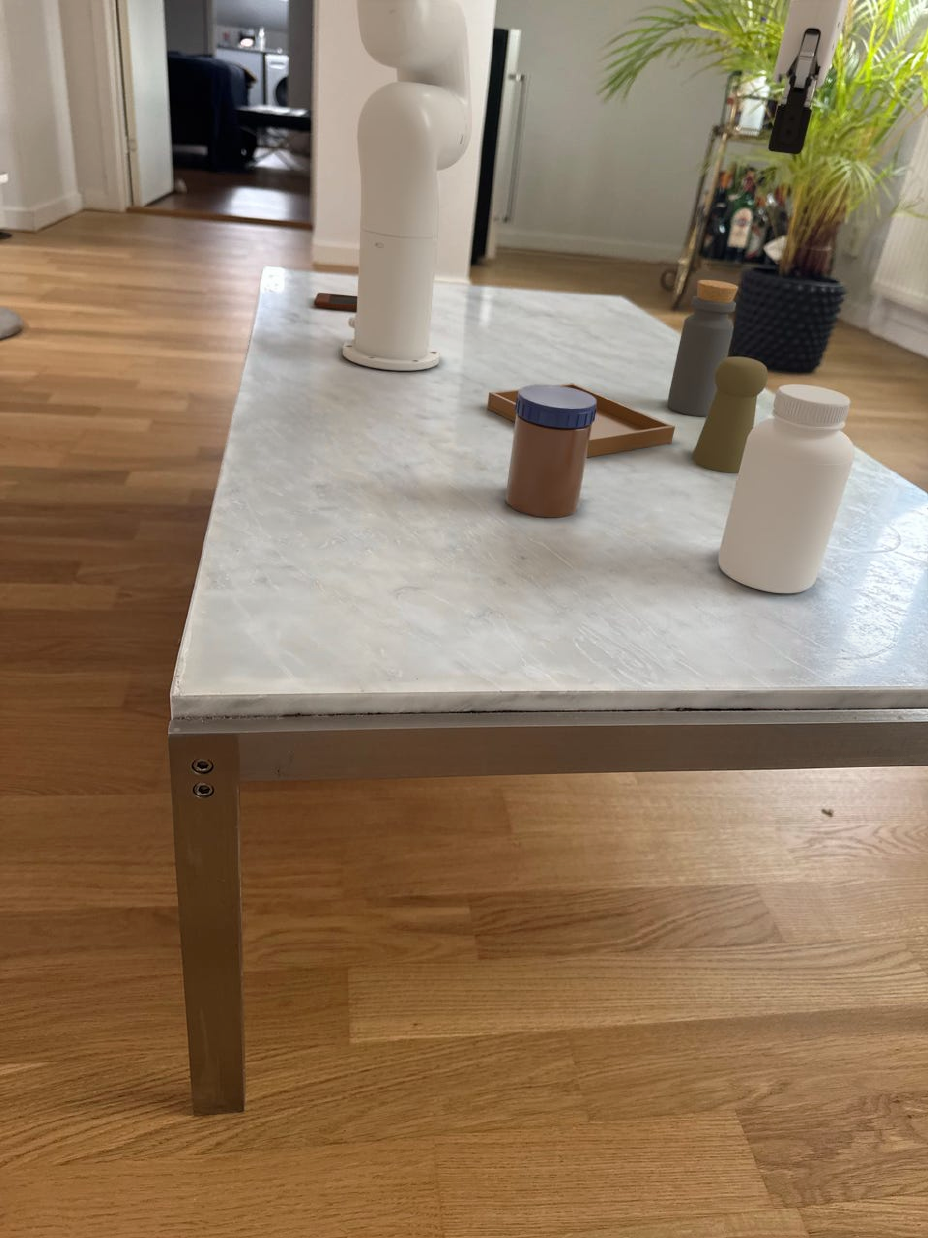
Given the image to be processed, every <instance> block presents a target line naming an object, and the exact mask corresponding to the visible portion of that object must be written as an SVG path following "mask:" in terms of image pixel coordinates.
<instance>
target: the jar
mask: <svg viewBox="0 0 928 1238" xmlns="http://www.w3.org/2000/svg"><path fill="white" fill-rule="evenodd" d="M591 428H592V424H590V425H588V426H585V427H580V428H557V427H550V426H544V425H540V424H536V423H533V422H530V421H528V420H526V419H524V418H522V417H520V416H519V415H518V414H516V422H514V430H513V437H512V445H511V452H510V458H509V459H510V461H509V466H508V476H507V482H506V490H505V497H504V499H505V502H506V503H507V505H508V506H509V507H511V508H512V509H514V510H516V511H518V512H520V513H522V514H525V515H529V516H533V517H538V518H539V517H540V518H548V519H549V518H551V519H552V518H554V519H555V518H564V517H568V516H571V515H573V514H575V513H576V512H577V510H578V507H579V503H580V498H581V497H580V496H581V490H582V484H583V479H584V474H585V467H586V462H587V458H586V456H587V451H588V445H589V439H590V433H591Z"/></svg>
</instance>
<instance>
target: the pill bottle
mask: <svg viewBox="0 0 928 1238" xmlns="http://www.w3.org/2000/svg"><path fill="white" fill-rule="evenodd" d="M772 407H773V408H772V411H771V415H772V417H771V418H767V419H764V420H762V421H760V422H758V423H757V424H755V426H753V429H752V430H751V432H750V434H749V435H748V438H747V442H746V445H745V449H744V454H743V458H742V462H741V466H740V470H739V473H738V474H737V478H736V482H735V486H734V490H733V493H732V494H733V495H732V498H731V503H730V507H729V510H728V514H727V518H726V521H725V525H724V526H725V527H724V531H723V534H722V537H721V538H722V539H721V542H720V547H719V550H718V559H717V560H718V561H717V562H718V566H719V568H720V570H721V571H722V572H723V573H724V574H725V575H726V576H727V577H729V578H730V579H732V580H734V581H735V582H738V583H739V584H742V585H744V586H747V587H750V588H752V589H755V590H759V591H762V592H763V591H764V592H768V593H776V594H796V593H801V592H804V591H806V590H809V589H810V588H811V587H812V586H813V585H814V584H815V582H816V580H817V578H818V575H819V573H820V570H821V566H822V564H823V560H824V557H825V553H826V551H827V548H828V544H829V540H830V537H831V534H832V531H833V527H834V524H835V521H836V517H837V514H838V511H839V508H840V505H841V502H842V498H843V495H844V492H845V489H846V486H847V483H848V479H849V476H850V472H851V469H852V466H853V464H854V459H855V448H854V444H853V442H852V440H851V439H850V438H849V437H848V435H846V434H845V432H843V431H842V430H843V429H844V428H845V426H846V420H847V418H848V414H849V410H850V407H851V400H850V397H848V396H847V395H845V394H844V393H841V392H839V391H836V390H833V389H830V388H826V387H822V386H817V385H812V384H811V385H810V384H799V383H793V384H791V383H790V384H784V385H781V386H779V387H778V388H777V390H776V392H775V396H774V401H773V404H772Z"/></svg>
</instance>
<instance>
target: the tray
mask: <svg viewBox="0 0 928 1238" xmlns="http://www.w3.org/2000/svg"><path fill="white" fill-rule="evenodd" d="M556 385H557V386H564V387H569V388H573V389H577V390H580V391H583V392H586V393H588V394H590V395H592V396H593V397H594V398H595V399H596V400H597V405H596V406H597V408H596V415H595V421H594V422H593V423H592V428H591V433H590V439H589V445H588V451H587V456H586V459H588V458H591V457H598V456H605V455H609V454H616V453H621V452H628V451H632V450H638V449H644V448H650V447H655V446H662V445H668V444H672V443H673V439H674V435H675V434H674V433H675V429H676V426H675V425H673V424H670V423H667V422H665V421H663V420H661V419H658V418H656V417H654V416H651V415H649V414H646V413H644V412H642V411H640V410H637V409H635V408H633V407H630V406H628V405H626V404H623V403H621V402H618V401H616V400H614V399H611V398H609V397H606V396H605V395H602V394H600V393H597V392H595V391H592V390H591V389H587V388H585V387H583V386H580V385H578V384H576V383H574V382H571V383H562V384H561V383H560V384H556ZM520 389H521V388H515V389H506V390H498V391H490V392H489V391H488V398H487V399H488V400H487V406H486V407H487V408H486V409H487V410H490V411H491V412H494V413H496V414H497V415H499V416H502V417H504V418H506V419H508V420H510V421H512V422H513V423H515V422H516V414H517V412H516V410H515V407H516V399H517V396H518V391H519V390H520Z"/></svg>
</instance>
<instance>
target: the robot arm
mask: <svg viewBox="0 0 928 1238" xmlns="http://www.w3.org/2000/svg"><path fill="white" fill-rule="evenodd" d="M850 1H851V0H790V3H789V7H788V11H787V15H786V20H785V24H784V28H783V33H782V37H781V40H780V44H779V45H780V46H779V50H778V54H777V57H776V61H775V67H774V70H773V74H772V80H773V82H774V83H775V84H776V85H777V86H781V85H782V83H783V82H782V81H783V79H786V81H785V85H784V89H783V92H782V96H781V100H780V105H779V104H778V105H777V107H776V112H775V117H774V121H773V125H772V129H771V134H770V138H769V142H768V147H767V149H768V150H769V151H770V152H774V153H782V154H790V155H800V154H801V152H802V151H803V149H804V146H805V141H806V137H807V133H808V130H809V129H808V128H809V125H810V121H811V117H812V114H813V108H812V104H813V100H814V94H815V92H816V90H817V89H820V88H821V87H822V86H823V85H824V83H825V80H826V78H827V76H828V73H829V71H830V67H831V65H832V62H833V60H834V56H835V53H836V50H837V47H838V44H839V41H840V36H841V33H842V30H843V26H844V22H845V19H846V15H847V12H848V7H849V4H850ZM356 7H357V20H358V30H359V35H360V40H361V43H362V45H363V48H364V50H365V51H366V52H367V55H368V56H369V57H370V58H372V59H373V60H374V61H375V62H377V63H378V64H380V65H382V66H385V67H388V68H391V69H396V70H395V71H396V80H397V81H394V82H390V83H387V84H384V85H382V86H380V87H379V88H378V89H376V90H374V92H373V93H371V94H370V95H369V97H368V98H367V100H366V101H365V102H364V104H363V106H362V109H361V110H360V113H359V117H358V121H357V122H358V123H357V133H356V139H357V140H356V141H357V151H358V163H359V173H360V217H359V218H360V219H359V220H360V221H359V228H360V231H359V233H360V234H359V249H358V250H359V251H358V252H359V255H358V273H357V275H358V277H357V295H356V296H357V311H356V314H355V315H354V316H351V317H350V318H349V319H348V321H347V322H348V326H349V327H350V328H352V329H354V333H353V335H354V337H353V339H351V340H348V341H346V342H345V343H344V344H343V345H342V354H343V357H344V358H346V359H347V360H349V361H351V362H352V363H355V364H358V365H361V366H364V367H367V368H373V369H380V370H385V371H386V370H387V371H401V372H402V371H404V372H405V371H411V372H412V371H421V370H422V371H423V370H428V369H432V368H433V367H435V366H437V365H438V364H439V363H440V357H441V355H440V352H439V351H438V350H437V349H436V348H435V347H432V346H431V345H429V344H430V331H431V321H432V308H433V307H432V306H433V296H434V283H435V272H436V260H437V247H438V232H439V218H440V195H439V183H438V175H437V174H438V172H439V171H444V170H446V169H449V168H451V167H452V166H454V165H455V164H457V163H458V162H459V161H460V160H461V158H462V157H464V154H465V153H466V151H467V149H468V147H469V144H470V141H471V136H472V126H473V118H472V117H473V115H472V114H473V113H472V95H471V94H472V92H471V90H472V89H471V72H470V52H469V51H470V50H469V35H468V27H467V22H466V19H465V15H464V11H463V9H462V6H461V4H460V2H459V0H356Z"/></svg>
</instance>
